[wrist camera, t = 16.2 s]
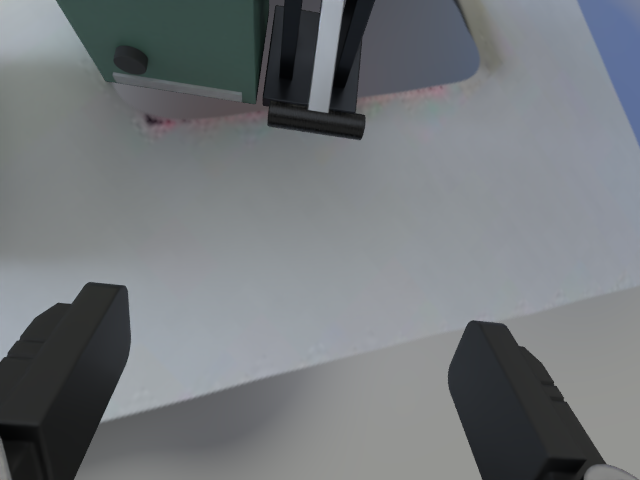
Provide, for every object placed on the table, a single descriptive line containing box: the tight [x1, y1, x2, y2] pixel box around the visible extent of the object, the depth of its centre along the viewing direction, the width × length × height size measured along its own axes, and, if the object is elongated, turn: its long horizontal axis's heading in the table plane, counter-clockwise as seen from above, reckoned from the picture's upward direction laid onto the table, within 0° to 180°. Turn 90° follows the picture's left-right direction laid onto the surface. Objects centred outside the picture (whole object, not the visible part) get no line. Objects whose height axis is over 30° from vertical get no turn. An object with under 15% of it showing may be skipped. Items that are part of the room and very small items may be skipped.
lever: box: [267, 0, 365, 140], centre depth 22 cm, size 13×5×2 cm, turn 175°
